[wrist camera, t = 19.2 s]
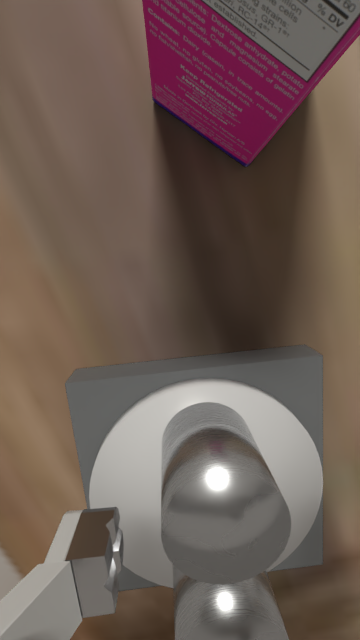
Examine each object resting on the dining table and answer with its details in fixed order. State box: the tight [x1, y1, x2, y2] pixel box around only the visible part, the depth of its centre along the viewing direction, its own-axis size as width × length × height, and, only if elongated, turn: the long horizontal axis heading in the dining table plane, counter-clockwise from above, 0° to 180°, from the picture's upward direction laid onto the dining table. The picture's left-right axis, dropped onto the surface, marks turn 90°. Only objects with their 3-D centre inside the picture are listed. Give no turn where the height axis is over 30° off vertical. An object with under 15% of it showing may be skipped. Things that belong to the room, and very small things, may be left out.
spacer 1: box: [161, 402, 291, 584], centre depth 13 cm, size 4×4×5 cm
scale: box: [65, 345, 323, 591], centre depth 18 cm, size 13×14×4 cm
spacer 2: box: [173, 565, 289, 640], centre depth 14 cm, size 4×4×5 cm
